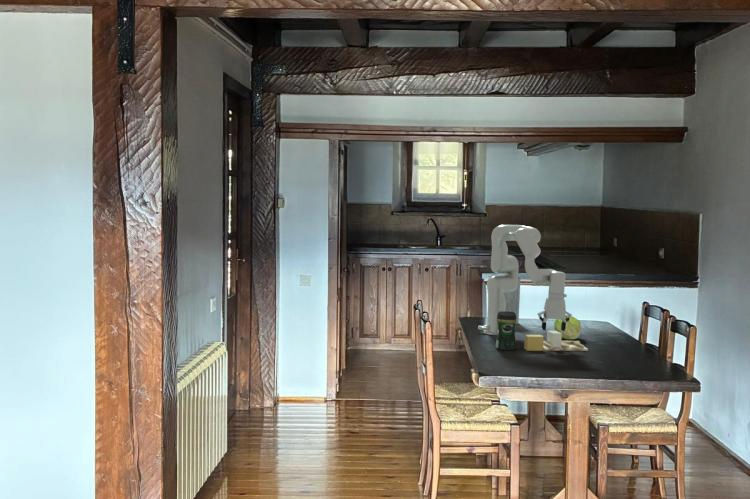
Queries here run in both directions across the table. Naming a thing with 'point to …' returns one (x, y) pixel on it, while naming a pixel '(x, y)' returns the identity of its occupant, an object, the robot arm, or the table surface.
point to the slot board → (565, 346)
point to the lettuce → (569, 328)
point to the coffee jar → (506, 330)
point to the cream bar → (554, 338)
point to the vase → (513, 301)
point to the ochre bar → (534, 342)
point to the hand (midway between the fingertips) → (553, 330)
